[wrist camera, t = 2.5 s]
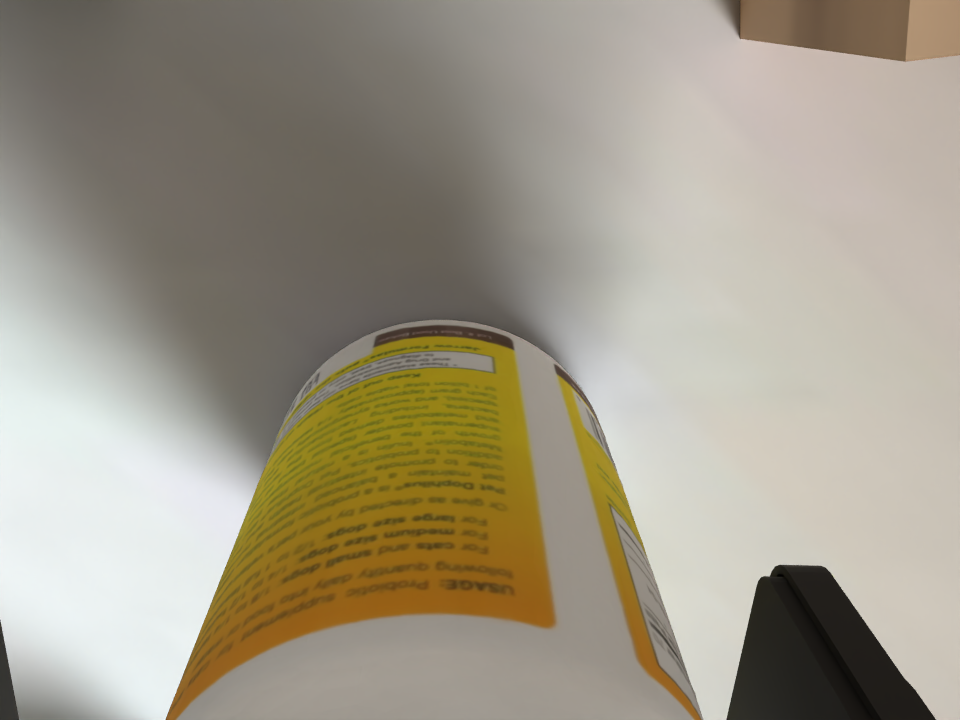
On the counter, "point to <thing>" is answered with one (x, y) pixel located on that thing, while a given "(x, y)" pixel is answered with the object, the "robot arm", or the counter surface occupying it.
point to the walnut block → (857, 26)
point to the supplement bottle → (438, 551)
